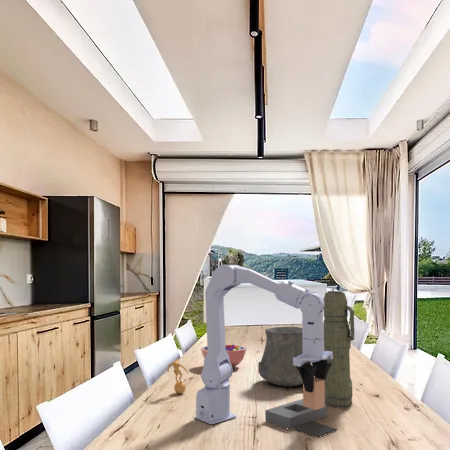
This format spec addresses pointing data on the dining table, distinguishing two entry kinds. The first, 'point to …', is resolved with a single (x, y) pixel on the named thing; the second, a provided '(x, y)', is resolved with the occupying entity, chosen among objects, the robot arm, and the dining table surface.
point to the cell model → (230, 353)
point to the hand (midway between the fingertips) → (314, 390)
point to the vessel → (282, 356)
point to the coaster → (315, 429)
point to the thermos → (338, 348)
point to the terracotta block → (315, 395)
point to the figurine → (179, 386)
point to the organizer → (294, 414)
